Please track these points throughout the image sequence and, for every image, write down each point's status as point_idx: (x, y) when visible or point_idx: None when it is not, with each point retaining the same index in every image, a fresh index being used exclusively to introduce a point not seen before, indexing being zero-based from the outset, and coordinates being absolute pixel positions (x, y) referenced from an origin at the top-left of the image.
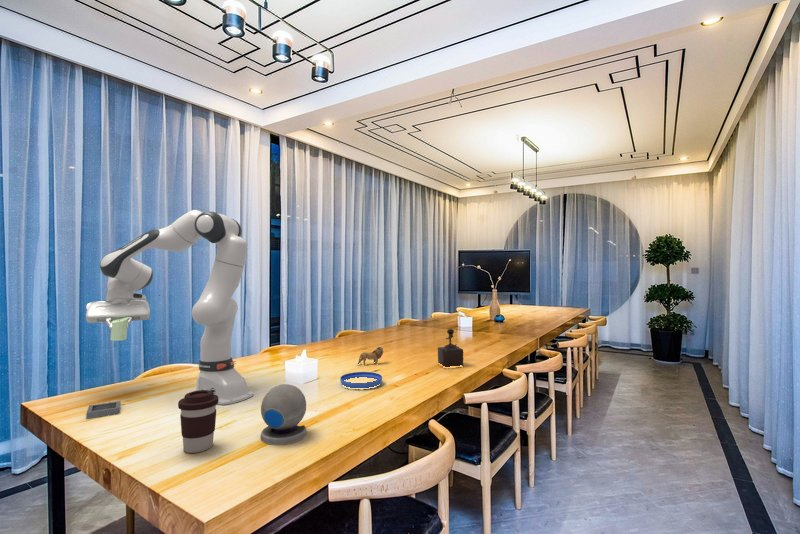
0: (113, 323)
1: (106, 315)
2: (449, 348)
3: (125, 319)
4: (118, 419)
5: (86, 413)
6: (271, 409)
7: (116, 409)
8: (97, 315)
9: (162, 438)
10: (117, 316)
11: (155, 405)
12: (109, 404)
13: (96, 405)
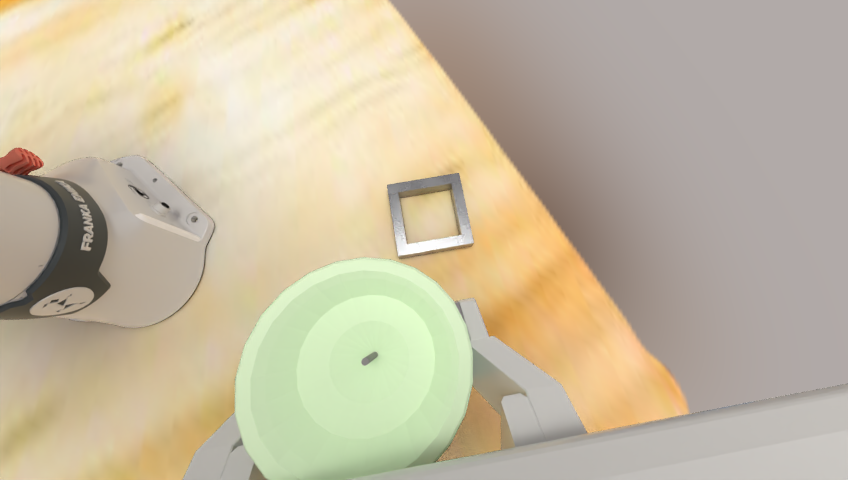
0: (431, 280)
1: (616, 453)
2: None
3: (270, 306)
4: (383, 149)
5: (458, 173)
6: None
7: (394, 184)
8: (797, 432)
9: (286, 11)
10: (404, 470)
11: (310, 229)
12: (423, 241)
13: (453, 236)
